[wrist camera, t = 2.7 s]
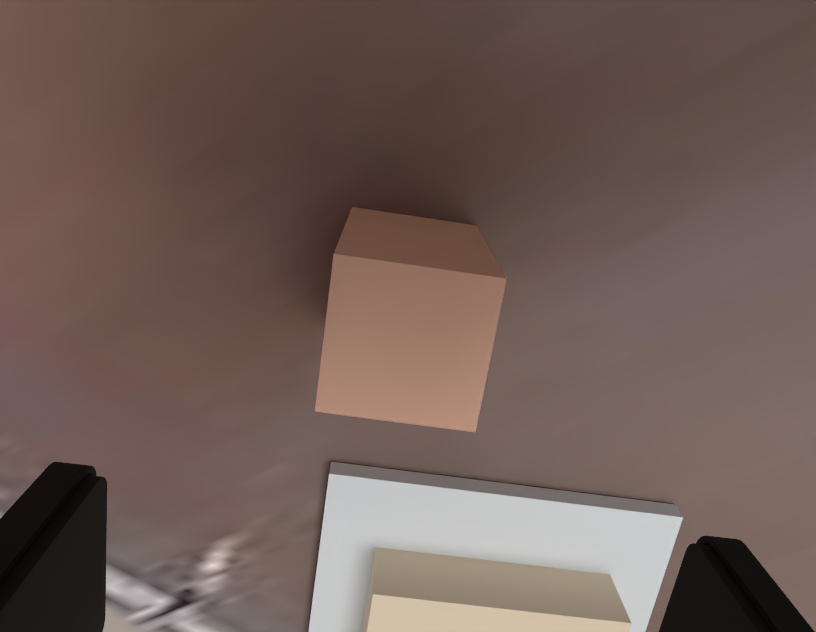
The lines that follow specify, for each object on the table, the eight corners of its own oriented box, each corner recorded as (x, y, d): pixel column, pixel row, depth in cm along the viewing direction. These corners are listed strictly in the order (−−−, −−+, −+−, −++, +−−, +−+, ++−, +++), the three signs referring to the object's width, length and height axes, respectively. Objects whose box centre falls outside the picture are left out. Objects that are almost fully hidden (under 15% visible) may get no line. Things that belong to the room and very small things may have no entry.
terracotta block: (351, 206, 26) (333, 253, 19) (475, 225, 27) (506, 278, 19) (337, 324, 28) (314, 411, 20) (454, 340, 28) (475, 432, 21)
